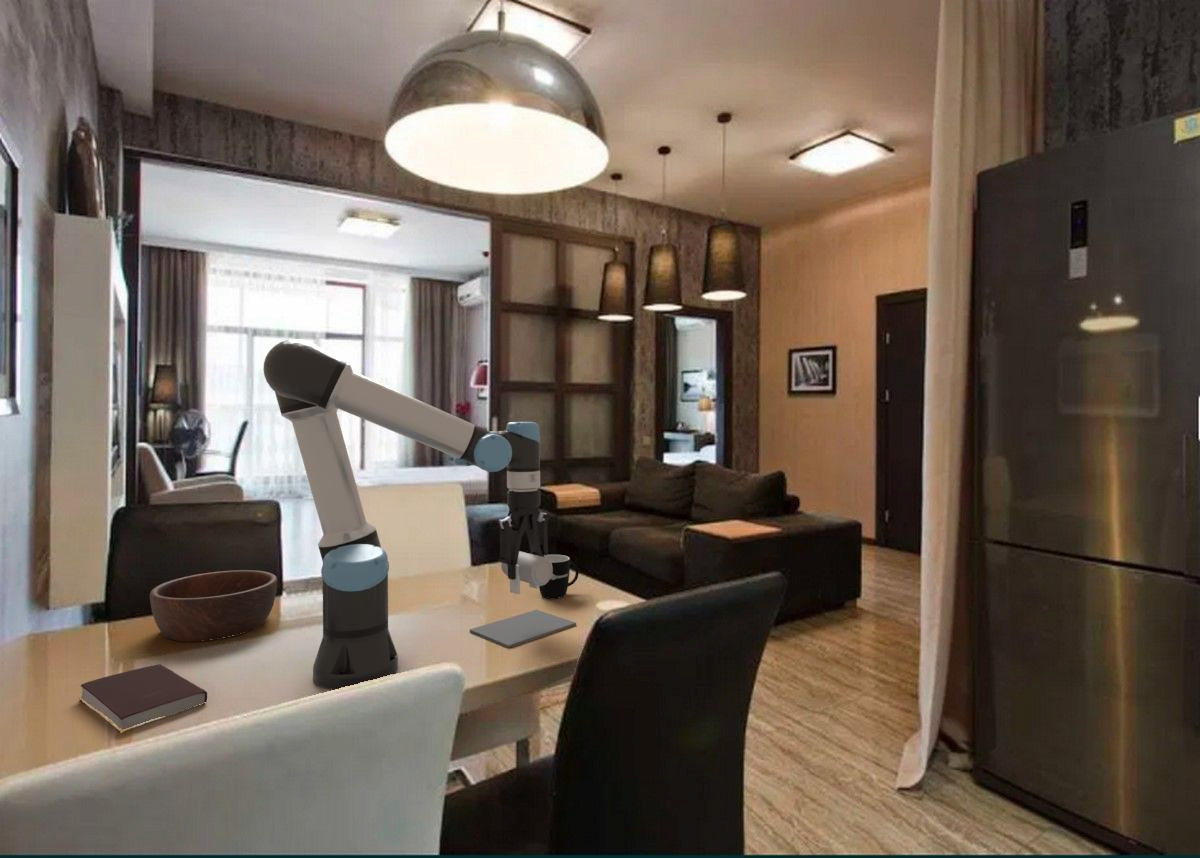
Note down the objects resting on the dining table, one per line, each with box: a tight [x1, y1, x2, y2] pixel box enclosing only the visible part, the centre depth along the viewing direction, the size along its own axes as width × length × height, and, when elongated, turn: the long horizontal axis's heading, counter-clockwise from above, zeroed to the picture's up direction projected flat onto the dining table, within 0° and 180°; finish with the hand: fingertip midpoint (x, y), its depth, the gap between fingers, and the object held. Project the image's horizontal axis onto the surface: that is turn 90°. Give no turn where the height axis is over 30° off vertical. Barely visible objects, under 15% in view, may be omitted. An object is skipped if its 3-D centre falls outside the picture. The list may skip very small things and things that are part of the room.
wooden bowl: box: [149, 569, 278, 642], centre depth 146 cm, size 25×25×10 cm
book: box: [80, 663, 208, 730], centre depth 109 cm, size 12×19×3 cm, turn 54°
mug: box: [538, 554, 580, 599], centre depth 173 cm, size 12×9×10 cm
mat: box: [469, 609, 577, 649], centre depth 146 cm, size 20×14×1 cm
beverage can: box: [500, 550, 553, 586], centre depth 146 cm, size 6×6×12 cm
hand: (524, 589), depth 146 cm, fingers closed on beverage can, 5 cm apart
